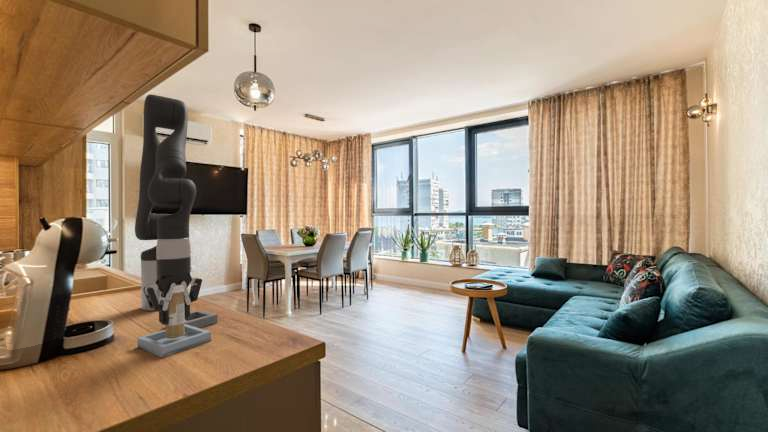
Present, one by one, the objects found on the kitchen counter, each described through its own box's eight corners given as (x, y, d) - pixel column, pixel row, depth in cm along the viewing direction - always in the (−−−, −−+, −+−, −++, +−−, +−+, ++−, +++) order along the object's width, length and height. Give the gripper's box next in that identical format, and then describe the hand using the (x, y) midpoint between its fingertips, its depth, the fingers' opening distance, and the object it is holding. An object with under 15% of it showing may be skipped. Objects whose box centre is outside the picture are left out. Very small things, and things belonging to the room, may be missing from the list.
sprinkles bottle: (160, 337, 88) (159, 285, 88) (177, 331, 92) (175, 281, 92) (173, 340, 87) (172, 286, 86) (189, 333, 91) (188, 283, 90)
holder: (167, 326, 103) (167, 317, 103) (199, 317, 111) (199, 309, 111) (185, 332, 98) (185, 323, 98) (217, 322, 106) (217, 314, 106)
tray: (137, 347, 87) (137, 337, 87) (185, 332, 98) (185, 324, 98) (162, 357, 81) (162, 347, 81) (210, 340, 91) (210, 331, 91)
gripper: (192, 251, 97) (193, 312, 97) (135, 258, 85) (136, 327, 85) (208, 253, 93) (209, 316, 94) (151, 260, 81) (152, 332, 81)
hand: (174, 321), depth 89 cm, fingers closed on sprinkles bottle, 4 cm apart
